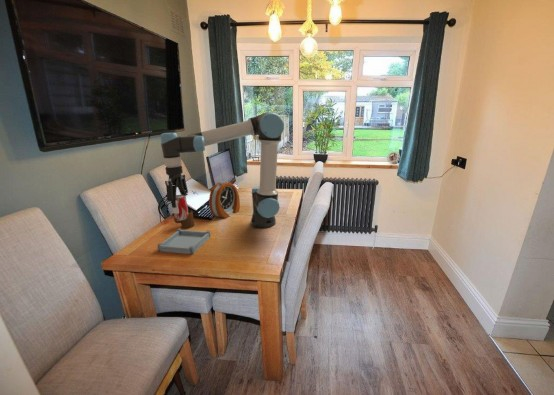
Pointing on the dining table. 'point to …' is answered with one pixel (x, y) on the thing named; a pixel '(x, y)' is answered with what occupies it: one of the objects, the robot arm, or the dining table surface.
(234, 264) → the dining table surface
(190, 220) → the mug
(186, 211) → the soda can
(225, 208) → the alarm clock
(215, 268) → the dining table surface
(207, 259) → the dining table surface
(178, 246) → the grey shallow square tray
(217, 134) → the robot arm
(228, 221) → the dining table surface
